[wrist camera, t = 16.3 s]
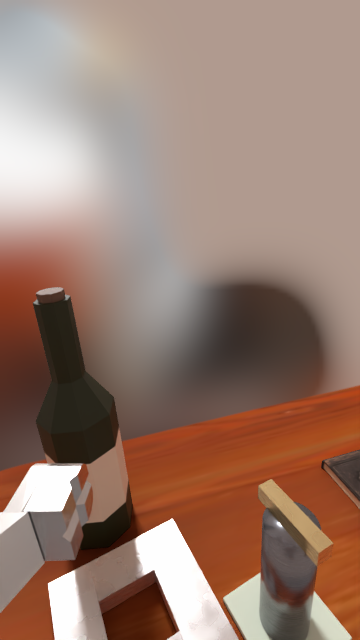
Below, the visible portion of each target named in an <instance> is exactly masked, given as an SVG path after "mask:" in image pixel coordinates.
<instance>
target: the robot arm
mask: <svg viewBox="0 0 360 640" xmlns="http://www.w3.org/2000/svg"><path fill="white" fill-rule="evenodd" d="M88 474H89V472H88V469H87V465H86V464H72V463H52V464H35V465H33V466H32V467H31V468H30V469H29V471H28V473H27V474H26V476H25V478H24V479H23V481H22V482H21V484H20V486H19V487H18V489H17V491H16V492H15V494H14V496H13V497H12V499H11V500H10V502H9V504H8V505H7V507H6V509H5V510H4V512H0V613H1V611H2V610H3V609H4V608H5V607H6V606H7V605H8V604H9V602H10V601H11V600H12V599H13V598H14V597H15V596H16V594H17V593H18V592H19V591H20V590H21V589H22V588H23V587H24V585H25V584H26V583H27V582H28V581H29V580H30V579H31V578H32V576H33V575H34V574H35V573H36V572H37V571H38V570H39V569H40V567H41V566H42V565H43V564H44V561H54V560H75V559H76V556H77V553H78V550H79V547H80V544H81V541H82V538H83V532H82V526H83V525H84V524H85V523H86V522H87V521H88V520H89V517H90V514H91V511H92V504H93V490H92V485H91V484H90V483H89V482H88V481H87V477H88Z"/></svg>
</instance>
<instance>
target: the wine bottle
mask: <svg viewBox="0 0 360 640" xmlns="http://www.w3.org/2000/svg"><path fill="white" fill-rule="evenodd" d="M36 296H37V300H36V301H35V302H34V303H33V306H34V310H35V314H36V318H37V322H38V326H39V330H40V334H41V338H42V342H43V346H44V350H45V354H46V358H47V362H48V366H49V370H50V374H51V378H52V381H51V384H50V387H49V389H48V392H47V394H46V397H45V399H44V402H43V404H42V407H41V409H40V412H39V414H38V417H37V420H36V424H37V428H38V431H39V435H40V438H41V442H42V445H43V448H44V452H45V456H46V459H47V463H48V464H52V463H72V464H86V465H87V469H88V472H89V474H88V477H87V481H88V482H89V483H90V484H91V485H92V490H93V504H92V511H91V514H90V517H89V520H88V521H87V522H86V523H85V524H84V525H83V526H82V532H83V538H82V541H81V544H80V548H81V550H84V549H94V548H104V547H110V546H111V545H112V544H113V543H114V542H115V541H116V540H117V539H118V538H119V537H120V536H121V535H122V534H123V533H124V532H125V531H126V530H127V529H128V528H130V524H131V514H132V499H131V493H130V487H129V481H128V476H127V470H126V464H125V458H124V453H123V447H122V441H121V436H120V430H119V424H118V419H117V412H116V407H115V401H114V397H113V396H112V395H111V394H110V393H109V392H108V391H107V390H106V389H104V388H103V387H102V386H101V385H100V384H99V383H98V382H97V381H96V380H95V379H93V378H92V377H91V376H90V375H89V374H88V373H87V372H86V371H85V366H84V361H83V356H82V352H81V347H80V342H79V337H78V332H77V327H76V322H75V317H74V312H73V308H72V303H71V297H70V296H68V295H65V293H64V289H63V288H59V287H58V288H48V289H44V290H40V291H39V292H37V293H36Z"/></svg>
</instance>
